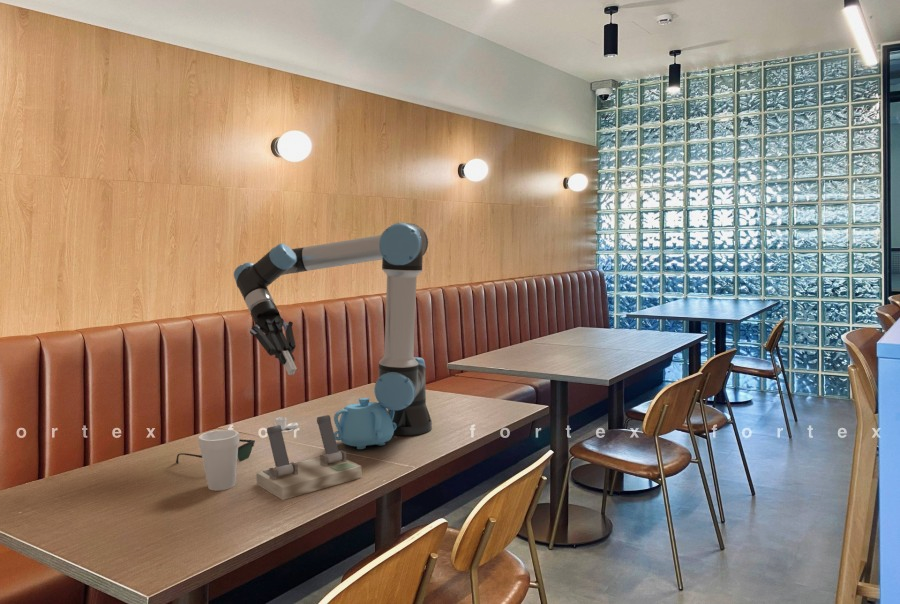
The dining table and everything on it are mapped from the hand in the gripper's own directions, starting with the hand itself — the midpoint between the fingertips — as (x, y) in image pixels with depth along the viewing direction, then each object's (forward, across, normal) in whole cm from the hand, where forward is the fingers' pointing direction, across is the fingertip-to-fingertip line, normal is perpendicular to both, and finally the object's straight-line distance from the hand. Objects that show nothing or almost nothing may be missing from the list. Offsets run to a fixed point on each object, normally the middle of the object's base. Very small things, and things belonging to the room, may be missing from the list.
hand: (292, 371), depth 194 cm
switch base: (+31, +7, -3) cm, 32 cm away
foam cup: (+23, +25, -12) cm, 36 cm away
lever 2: (+29, 0, 0) cm, 29 cm away
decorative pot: (+21, -20, -13) cm, 32 cm away
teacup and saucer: (0, -10, -35) cm, 36 cm away
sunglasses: (+8, +19, -26) cm, 33 cm away
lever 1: (+29, +14, 0) cm, 33 cm away
